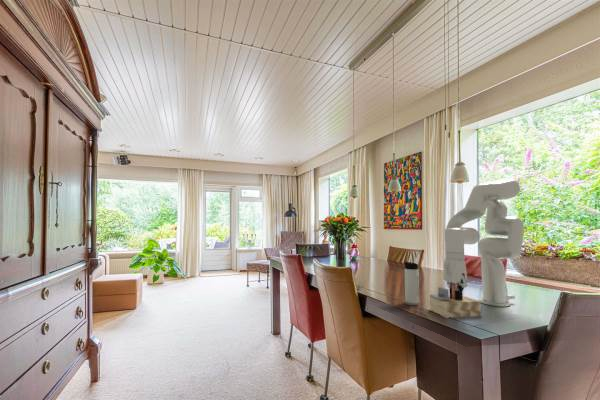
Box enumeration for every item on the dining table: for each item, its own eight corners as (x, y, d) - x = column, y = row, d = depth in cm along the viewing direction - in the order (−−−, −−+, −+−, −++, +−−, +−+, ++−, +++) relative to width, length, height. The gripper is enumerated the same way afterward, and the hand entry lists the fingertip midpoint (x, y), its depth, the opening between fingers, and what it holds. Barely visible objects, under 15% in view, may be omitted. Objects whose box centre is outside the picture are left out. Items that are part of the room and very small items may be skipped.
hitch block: (462, 308, 134) (462, 294, 135) (480, 316, 124) (480, 301, 124) (430, 309, 132) (429, 296, 133) (445, 317, 121) (445, 302, 122)
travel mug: (402, 302, 145) (401, 260, 146) (415, 301, 145) (414, 260, 147) (408, 305, 139) (407, 262, 140) (421, 305, 139) (420, 262, 141)
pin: (457, 305, 131) (456, 276, 132) (465, 308, 126) (464, 279, 127) (447, 305, 130) (446, 277, 131) (454, 309, 125) (453, 279, 126)
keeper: (440, 296, 131) (440, 286, 131) (449, 300, 125) (449, 290, 125) (430, 297, 130) (429, 287, 130) (438, 300, 124) (437, 290, 124)
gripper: (435, 254, 137) (436, 294, 136) (459, 258, 121) (461, 304, 120) (450, 254, 138) (451, 294, 137) (475, 258, 122) (477, 303, 121)
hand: (456, 298), depth 128 cm, fingers closed on pin, 2 cm apart
